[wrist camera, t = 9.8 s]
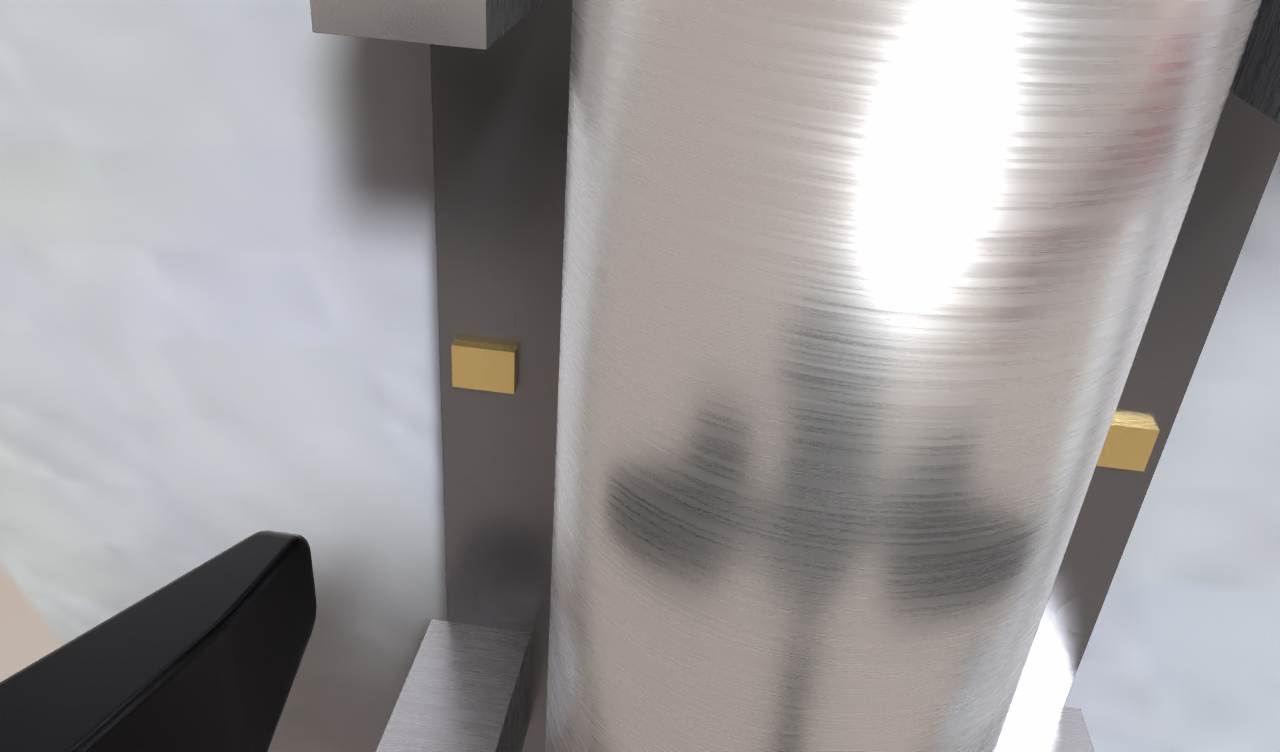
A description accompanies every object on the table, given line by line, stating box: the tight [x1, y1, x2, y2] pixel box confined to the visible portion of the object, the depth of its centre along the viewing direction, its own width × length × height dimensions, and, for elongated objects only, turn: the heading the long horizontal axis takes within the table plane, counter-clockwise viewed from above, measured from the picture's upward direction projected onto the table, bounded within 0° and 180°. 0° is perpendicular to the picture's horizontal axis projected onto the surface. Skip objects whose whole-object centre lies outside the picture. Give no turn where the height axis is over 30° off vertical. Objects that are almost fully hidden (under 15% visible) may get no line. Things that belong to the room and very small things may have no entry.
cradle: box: [310, 0, 1280, 752], centre depth 12 cm, size 20×10×4 cm, turn 176°
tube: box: [545, 0, 1262, 752], centre depth 11 cm, size 16×5×5 cm, turn 176°
